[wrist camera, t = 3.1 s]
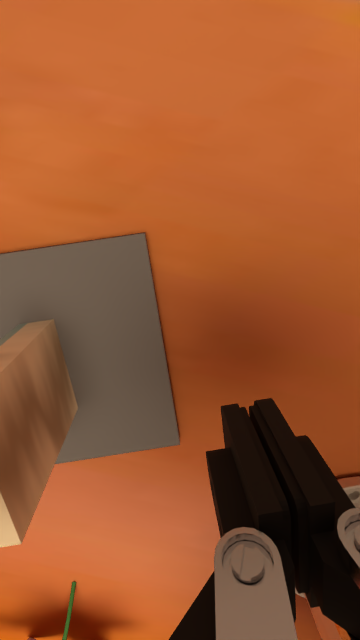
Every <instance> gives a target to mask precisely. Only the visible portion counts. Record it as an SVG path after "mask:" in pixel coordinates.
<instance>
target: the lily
mask: <svg viewBox="0 0 360 640" xmlns="http://www.w3.org/2000/svg"><path fill="white" fill-rule="evenodd" d="M75 586H76V582H72V588H71V594H70V601H69V607H68V613H67V619H66V624H65V629H64V634H63V638H62V640H67V634H68V629H69V624H70V618H71V612H72V606H73V600H74V593H75ZM27 640H36V639H35V638H31V637H29V638H28V639H27Z"/></svg>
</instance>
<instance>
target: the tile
mask: <svg viewBox="0 0 360 640" xmlns="http://www.w3.org/2000/svg"><path fill="white" fill-rule="evenodd" d="M77 409H78V406H77V402H76V398H75V395H74V391H73V388H72V384H71V380H70V377H69V373H68V370H67V366H66V362H65V359H64V355H63V351H62V348H61V344H60V341H59V337H58V333H57V330H56V326H55V323H54V319H52V320H45V321H38V322H32V323H25V324H19V325H18V326H16V327H15V328H14V329H13V330H11V331H10V332H9V333H8V334H6V335H5V336H4V337H3V338H1V339H0V547H6V546H12V545H19V544H22V541H23V539H24V537H25V534H26V532H27V529H28V527H29V525H30V522H31V520H32V517H33V515H34V513H35V510H36V508H37V505H38V503H39V501H40V498H41V496H42V493H43V491H44V489H45V486H46V484H47V481H48V479H49V477H50V474H51V472H52V469H53V467H54V465H55V462H56V460H57V457H58V455H59V453H60V450H61V448H62V445H63V443H64V440H65V438H66V436H67V433H68V431H69V428H70V426H71V424H72V421H73V419H74V416H75V414H76V412H77Z"/></svg>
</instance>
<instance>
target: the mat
mask: <svg viewBox="0 0 360 640" xmlns="http://www.w3.org/2000/svg"><path fill="white" fill-rule="evenodd" d="M52 319H54V323H55V326H56V330H57V333H58V337H59V341H60V344H61V348H62V351H63V355H64V359H65V362H66V366H67V370H68V373H69V377H70V380H71V384H72V388H73V391H74V395H75V398H76V402H77V406H78V409H77V412H76V414H75V416H74V419H73V421H72V424H71V426H70V428H69V431H68V433H67V436H66V438H65V440H64V443H63V445H62V448H61V450H60V453H59V455H58V457H57V460H56V462H55V464H59V463H65V462H72V461H78V460H85V459H91V458H97V457H104V456H110V455H117V454H123V453H129V452H136V451H142V450H149V449H155V448H162V447H168V446H174V445H180V439H179V432H178V426H177V420H176V414H175V408H174V402H173V396H172V390H171V384H170V378H169V372H168V366H167V360H166V354H165V348H164V342H163V336H162V330H161V324H160V318H159V312H158V306H157V300H156V294H155V288H154V282H153V276H152V270H151V264H150V258H149V253H148V247H147V241H146V235H145V233H138V234H131V235H124V236H118V237H111V238H104V239H97V240H90V241H84V242H77V243H70V244H63V245H56V246H49V247H43V248H36V249H29V250H22V251H15V252H9V253H2V254H0V339H1V338H3V337H4V336H5V335H6V334H8V333H9V332H10V331H11V330H13V329H14V328H15V327H16V326H18V325H19V324H25V323H32V322H38V321H45V320H52Z"/></svg>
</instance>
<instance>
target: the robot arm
mask: <svg viewBox="0 0 360 640" xmlns="http://www.w3.org/2000/svg"><path fill="white" fill-rule="evenodd" d="M221 415H222V424H223V433H224V442H225V449H219V450H213V451H206V458H207V465H208V472H209V479H210V485H211V490H212V496H213V501H214V506H215V511H216V516H217V521H218V526H219V531H220V536H221V539H220V540H219V542H218V544H217V546H216V549H215V556H214V570H215V571H214V572H213V574H212V575H211V577H210V578H209V580H208V581H207V583H206V584H205V586H204V587H203V589H202V590H201V592H200V593H199V595H198V596H197V598H196V599H195V601H194V602H193V604H192V605H191V607H190V608H189V610H188V611H187V613H186V614H185V616H184V617H183V619H182V620H181V622H180V623H179V625H178V626H177V628H176V629H175V631H174V632H173V634H172V635H171V637H170V638H169V640H298V639H297V634H296V629H295V624H294V622H295V620H296V603H295V594H297V595H299V596H301V597H304V598H306V600H307V603H308V605H309V608H310V610H311V613H312V616H313V618H314V621H315V624H316V626H317V629H318V632H319V634H320V637H321V639H322V640H360V476H357V477H348V478H342V479H338V480H337V479H336V477H335V476H334V474H333V473H332V471H331V470H330V468H329V467H328V465H327V464H326V462H325V461H324V459H323V458H322V456H321V455H320V453H319V452H318V450H317V449H316V447H315V446H314V444H313V443H312V441H311V440H310V439H309V437H308V436H306V435H304V436H298V437H295V435H294V433H293V432H292V430H291V429H290V427H289V425H288V424H287V422H286V420H285V419H284V417H283V415H282V414H281V412H280V410H279V409H278V407H277V405H276V404H275V402H274V401H273V399H272V398H268V399H262V400H256V401H254V406H249V415H248V413H247V410H246V408H245V407H241V408H239V405H238V404H231V405H225V406H221ZM249 416H250V417H249Z"/></svg>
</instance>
